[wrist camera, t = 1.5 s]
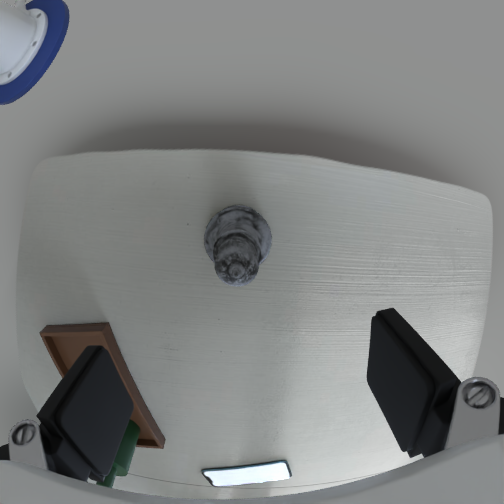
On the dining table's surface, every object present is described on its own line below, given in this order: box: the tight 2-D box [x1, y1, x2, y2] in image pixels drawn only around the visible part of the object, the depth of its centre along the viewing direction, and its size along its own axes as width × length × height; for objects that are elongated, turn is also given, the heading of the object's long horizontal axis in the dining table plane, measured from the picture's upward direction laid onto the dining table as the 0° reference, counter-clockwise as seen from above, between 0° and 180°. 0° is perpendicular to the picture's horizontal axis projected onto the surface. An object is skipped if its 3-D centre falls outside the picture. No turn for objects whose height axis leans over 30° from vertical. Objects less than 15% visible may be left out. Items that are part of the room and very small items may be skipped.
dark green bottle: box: [96, 419, 140, 488], centre depth 30 cm, size 5×5×13 cm
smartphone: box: [202, 461, 292, 487], centre depth 41 cm, size 8×1×16 cm
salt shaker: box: [204, 205, 272, 286], centre depth 23 cm, size 6×6×12 cm
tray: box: [40, 323, 165, 449], centre depth 33 cm, size 23×11×2 cm, turn 9°
